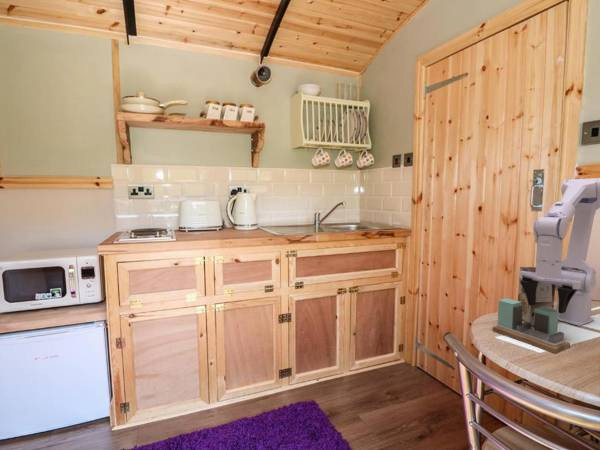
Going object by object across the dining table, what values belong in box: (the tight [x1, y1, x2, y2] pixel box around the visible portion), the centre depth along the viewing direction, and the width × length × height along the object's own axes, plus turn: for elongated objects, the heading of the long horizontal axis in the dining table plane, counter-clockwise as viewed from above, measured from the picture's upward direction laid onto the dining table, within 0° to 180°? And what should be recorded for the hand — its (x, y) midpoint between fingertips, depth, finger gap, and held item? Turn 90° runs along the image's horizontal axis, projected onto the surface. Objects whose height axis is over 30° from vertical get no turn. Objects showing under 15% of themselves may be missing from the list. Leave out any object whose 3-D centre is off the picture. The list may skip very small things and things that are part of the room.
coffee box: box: [517, 266, 556, 326], centre depth 104 cm, size 9×6×16 cm
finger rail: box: [492, 297, 571, 354], centre depth 92 cm, size 7×16×9 cm, turn 27°
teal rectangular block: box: [533, 307, 559, 335], centre depth 94 cm, size 5×4×7 cm
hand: (546, 308), depth 94 cm, fingers open, 7 cm apart
